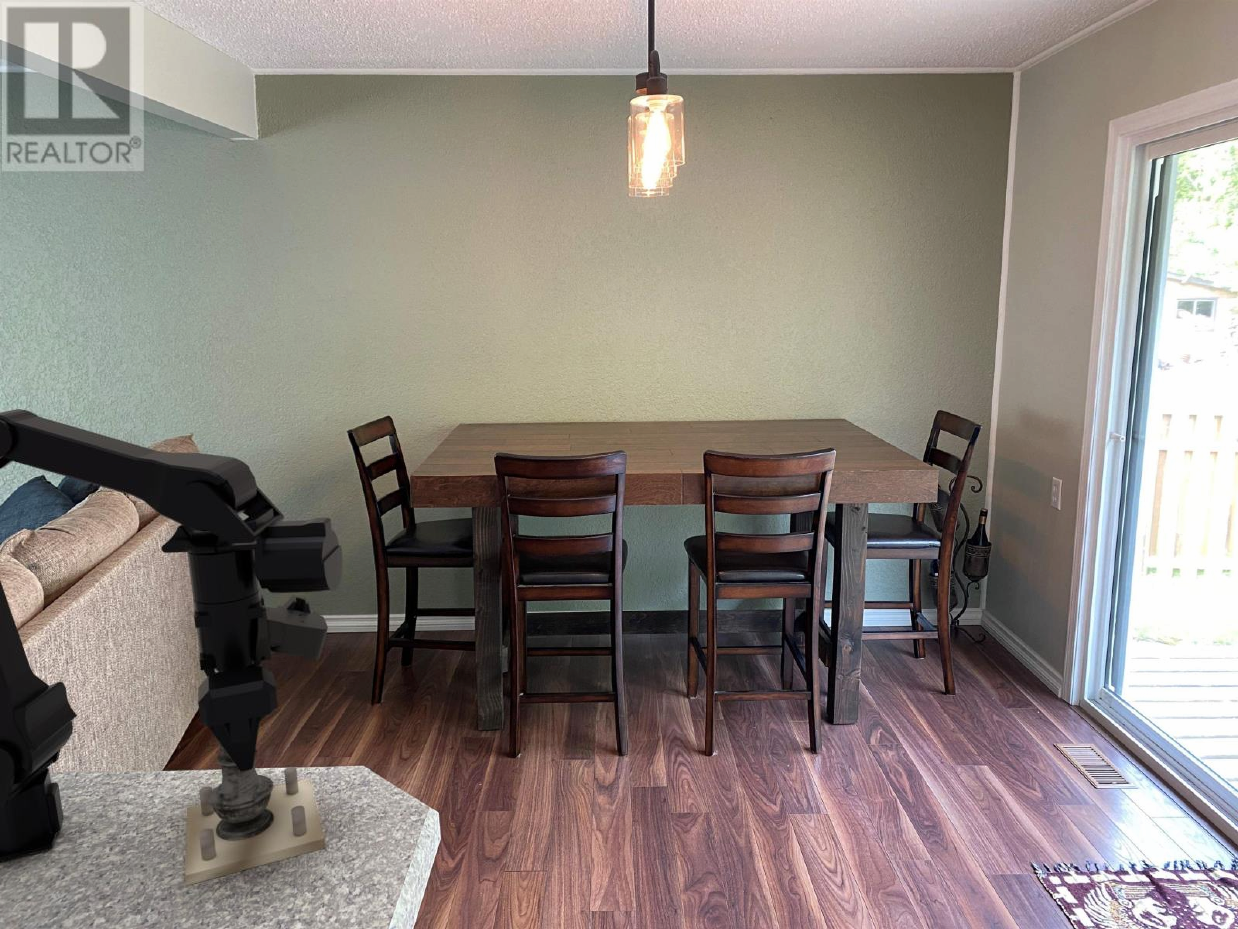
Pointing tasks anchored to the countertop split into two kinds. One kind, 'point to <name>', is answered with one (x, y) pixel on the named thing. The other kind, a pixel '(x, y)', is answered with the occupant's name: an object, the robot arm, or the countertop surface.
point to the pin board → (283, 839)
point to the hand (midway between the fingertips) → (244, 747)
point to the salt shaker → (241, 801)
